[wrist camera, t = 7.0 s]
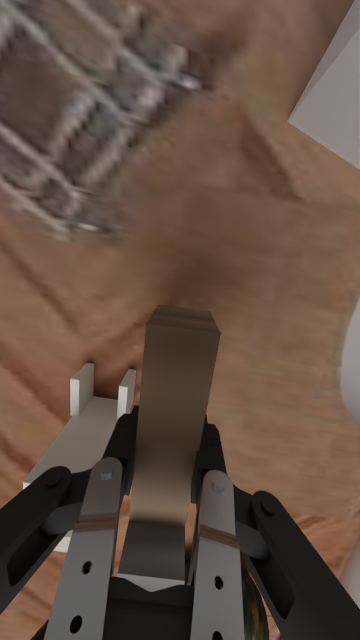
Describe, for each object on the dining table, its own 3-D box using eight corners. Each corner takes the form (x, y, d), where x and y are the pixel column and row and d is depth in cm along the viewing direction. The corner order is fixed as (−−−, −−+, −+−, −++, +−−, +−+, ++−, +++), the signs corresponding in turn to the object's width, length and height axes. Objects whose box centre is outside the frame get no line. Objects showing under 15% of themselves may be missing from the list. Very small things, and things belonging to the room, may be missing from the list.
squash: (284, 641, 34) (292, 785, 21) (198, 652, 37) (160, 783, 24) (245, 526, 41) (233, 580, 28) (175, 543, 43) (135, 599, 31)
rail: (158, 305, 12) (135, 341, 7) (209, 311, 12) (230, 353, 7) (139, 491, 16) (114, 620, 10) (178, 496, 16) (175, 627, 10)
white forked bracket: (81, 361, 28) (-5, 442, 16) (141, 370, 28) (102, 459, 16) (80, 429, 31) (6, 543, 19) (134, 437, 31) (97, 557, 19)
